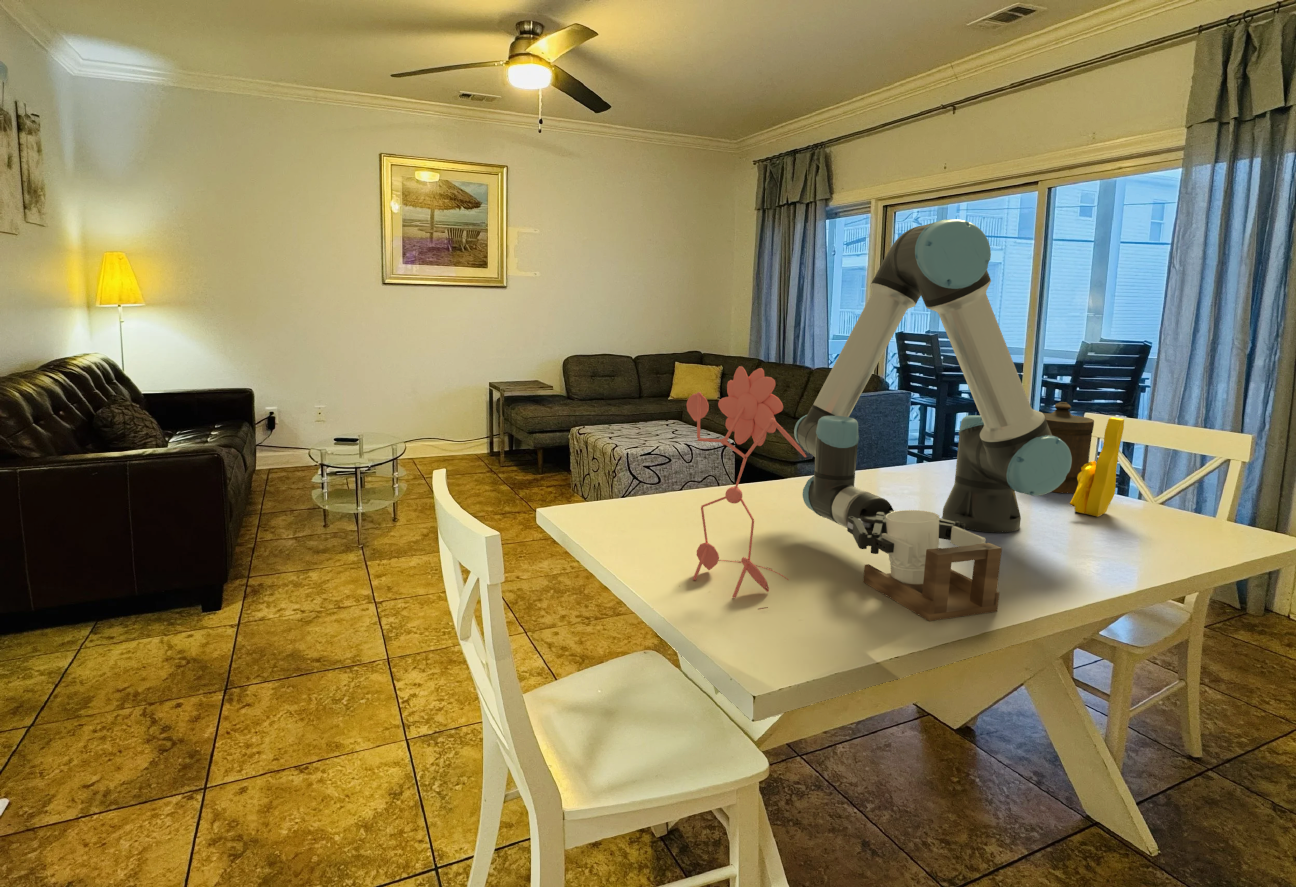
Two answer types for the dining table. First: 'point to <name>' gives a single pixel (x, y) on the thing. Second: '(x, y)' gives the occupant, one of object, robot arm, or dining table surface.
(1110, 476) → the figure statuette
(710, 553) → the figurine
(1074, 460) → the wooden container
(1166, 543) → the dining table surface
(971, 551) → the brown wooden stand
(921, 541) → the white cup
